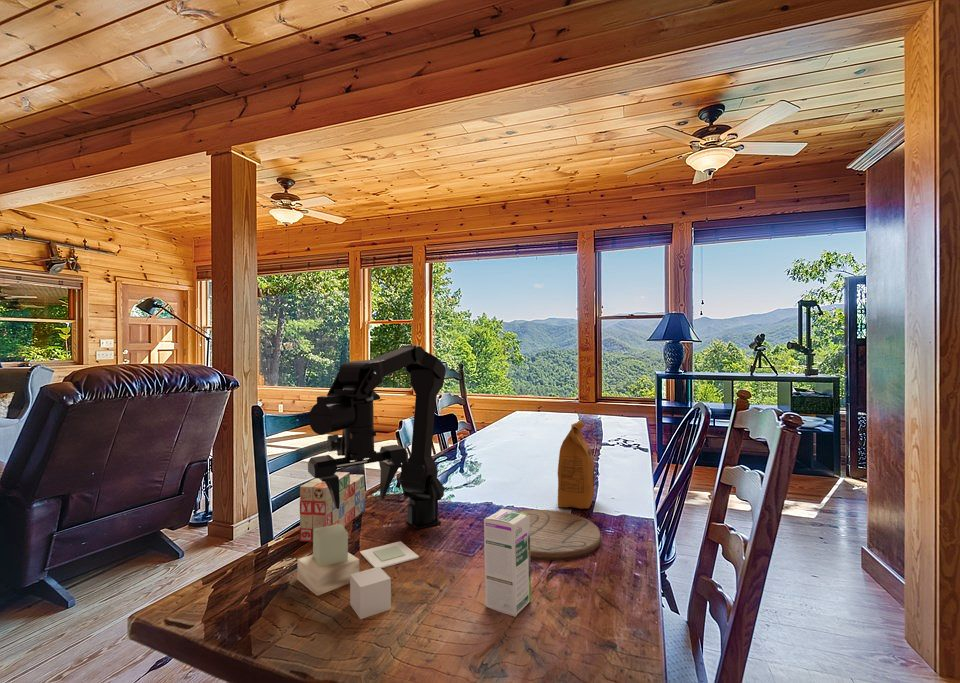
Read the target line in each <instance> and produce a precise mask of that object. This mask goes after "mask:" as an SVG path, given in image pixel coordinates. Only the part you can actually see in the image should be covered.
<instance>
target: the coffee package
mask: <svg viewBox="0 0 960 683" xmlns="http://www.w3.org/2000/svg"><path fill="white" fill-rule="evenodd" d="M585 426H586V425H585V423H584V422H583V420H578V421H577V422H575V423H573V424H571V426H570V427H571V428H570V430H569V431H568V433H567V435H566V437H565V438H564V439H563V441H562V442H561V443H562V444H560V445H561V446H560V449H559V454H558V464H557V507H559V508H562V509H563V508H568V507H570V508H571V507H572V508H575V509H582V510H583V509H589V508H590V507H591V505H592V503H593V500H594V497H595V481H596V480H595V478H596V472H595V461H594V460H595V459H594V456H593V453H592V450H591V447H590V446H589V444H588V443H587V441H586V440H585V437H584V435H583V433H582V429H583V428H585ZM572 508H571V509H572Z"/></svg>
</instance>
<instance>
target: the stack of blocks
mask: <svg viewBox="0 0 960 683" xmlns="http://www.w3.org/2000/svg"><path fill="white" fill-rule="evenodd" d="M335 474H336V475H337V476H338V477H339V495H340V505H339V509H336V507H335V505H334V502H333V499H332V497H331V494H330V491H329V489H328V487H327V485H326V483H325V482H322V481H321V480H320V479H319V478H313V479H311V480H309V481H307V482H306V483H304V484H302V485H300V487H299V499H300V500H299V542H310V543H313V529H316V528H321V527H326V526H331V525H337V524H341V525H342V526H343V527H344V528H346V526H347V525H348V524H351V522H352V521H354V519H356V517H358V516H359V515H360V514H362V513H363V512H364V511H366V487H365V480H366V478H365V474H350V472H349V471H348V472H346V471H343V472H341V471H337V472H336V473H335Z"/></svg>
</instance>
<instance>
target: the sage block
mask: <svg viewBox="0 0 960 683" xmlns="http://www.w3.org/2000/svg"><path fill="white" fill-rule="evenodd" d="M312 552H313V553H312V554H313V557H314V559H315V561H316V562H317V564H318V566H319V567H323V566H327V565H331V564H335V563H339V562H344V561H348V553H349V532H348V531H347V530H346V527H343V526H342V525H341V524H337V525H331V526H326V527H321V528H316V529H313V542H312Z"/></svg>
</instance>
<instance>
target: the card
mask: <svg viewBox="0 0 960 683" xmlns="http://www.w3.org/2000/svg"><path fill="white" fill-rule="evenodd" d="M359 553H360V555H361V556H363V558H364V559H365V560H366V561H367V562H368V563H369V564H370V566H372V568H375V567H380V568H381V569H384V568H388V567H391V566H395V565H399V564H402V563H406V562H409V561H413V560H417V559H420V558H419V557H420V556H419V555H418V554H416V553H415V551H413V550H411V549H410V548H409V547H408V546H407V545H406V544H404V542H402V541H401V540H400V541H396V542H391V543H388V544H384V545H380V546H375V547H371V548H368V549H364V550H360V551H359Z"/></svg>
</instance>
